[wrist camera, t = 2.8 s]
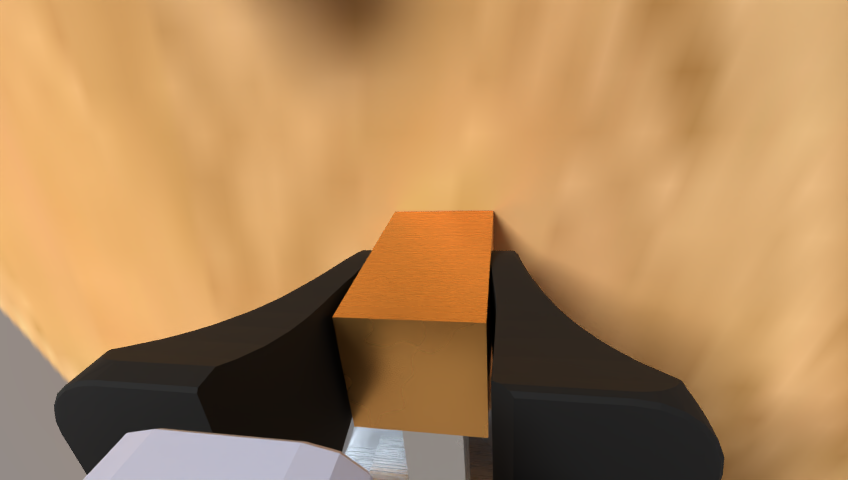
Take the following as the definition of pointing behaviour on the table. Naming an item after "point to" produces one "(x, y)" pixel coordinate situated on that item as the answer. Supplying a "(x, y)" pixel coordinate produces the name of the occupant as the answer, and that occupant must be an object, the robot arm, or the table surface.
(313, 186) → the table surface
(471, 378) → the pin
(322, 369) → the robot arm
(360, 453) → the dock
